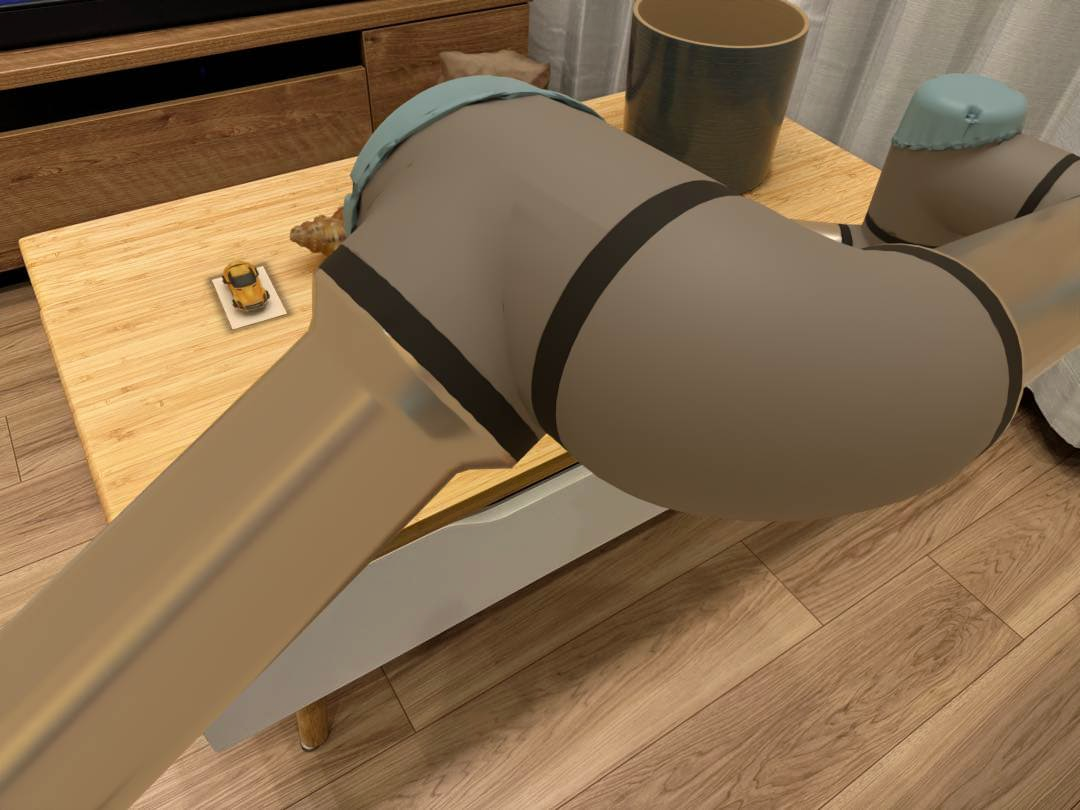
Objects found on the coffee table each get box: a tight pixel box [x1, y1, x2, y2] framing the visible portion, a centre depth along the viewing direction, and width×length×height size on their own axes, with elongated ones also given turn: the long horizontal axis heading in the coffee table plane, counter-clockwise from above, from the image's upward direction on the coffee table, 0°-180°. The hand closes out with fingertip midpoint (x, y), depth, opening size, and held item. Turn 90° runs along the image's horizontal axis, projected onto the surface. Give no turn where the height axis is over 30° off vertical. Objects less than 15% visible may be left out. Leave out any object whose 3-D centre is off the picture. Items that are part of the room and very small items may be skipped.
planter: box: [622, 0, 811, 194], centre depth 105 cm, size 22×22×20 cm
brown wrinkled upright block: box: [436, 49, 551, 90], centre depth 94 cm, size 13×13×20 cm
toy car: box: [211, 260, 288, 330], centre depth 87 cm, size 4×8×2 cm, turn 29°
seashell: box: [289, 205, 346, 258], centre depth 92 cm, size 9×8×10 cm
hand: (521, 241), depth 66 cm, fingers open, 13 cm apart
